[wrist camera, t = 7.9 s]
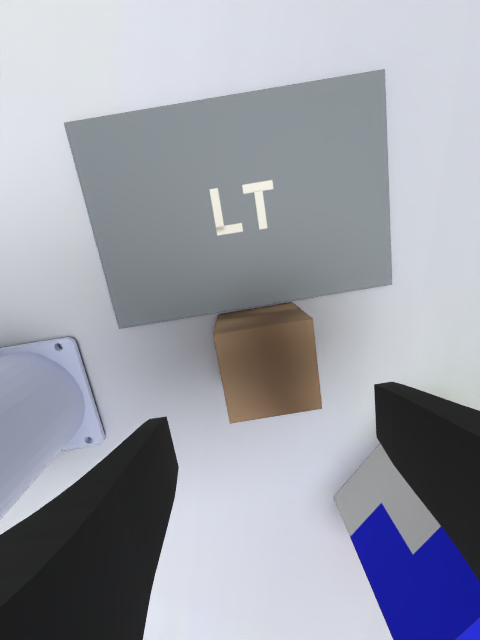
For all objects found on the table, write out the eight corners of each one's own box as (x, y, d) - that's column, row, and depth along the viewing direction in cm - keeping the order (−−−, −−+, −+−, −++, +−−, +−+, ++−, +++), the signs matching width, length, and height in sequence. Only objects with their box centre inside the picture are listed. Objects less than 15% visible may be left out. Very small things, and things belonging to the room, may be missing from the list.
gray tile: (120, 327, 19) (118, 328, 18) (66, 125, 16) (63, 122, 16) (389, 283, 19) (392, 284, 18) (382, 72, 16) (385, 68, 16)
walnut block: (230, 382, 20) (230, 423, 15) (217, 314, 19) (213, 335, 14) (300, 370, 20) (322, 408, 15) (291, 301, 19) (312, 318, 14)
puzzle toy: (333, 496, 23) (410, 680, 13) (416, 400, 21) (578, 528, 11) (425, 548, 24) (556, 747, 14) (509, 462, 22) (723, 623, 13)
